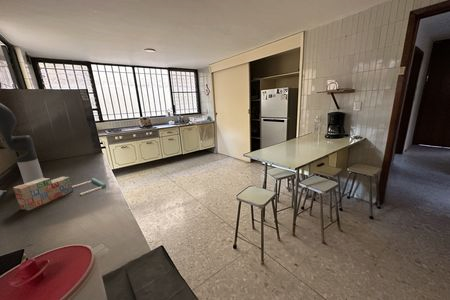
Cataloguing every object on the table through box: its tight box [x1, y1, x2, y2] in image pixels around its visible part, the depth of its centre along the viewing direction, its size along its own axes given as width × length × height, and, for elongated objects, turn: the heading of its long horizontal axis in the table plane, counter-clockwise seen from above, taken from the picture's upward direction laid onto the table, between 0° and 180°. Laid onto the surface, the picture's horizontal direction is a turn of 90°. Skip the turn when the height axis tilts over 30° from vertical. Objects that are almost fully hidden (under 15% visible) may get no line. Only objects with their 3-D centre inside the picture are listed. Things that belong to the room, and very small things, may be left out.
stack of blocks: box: [12, 176, 74, 211], centre depth 100 cm, size 21×6×12 cm, turn 162°
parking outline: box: [72, 177, 107, 196], centre depth 115 cm, size 19×13×2 cm
